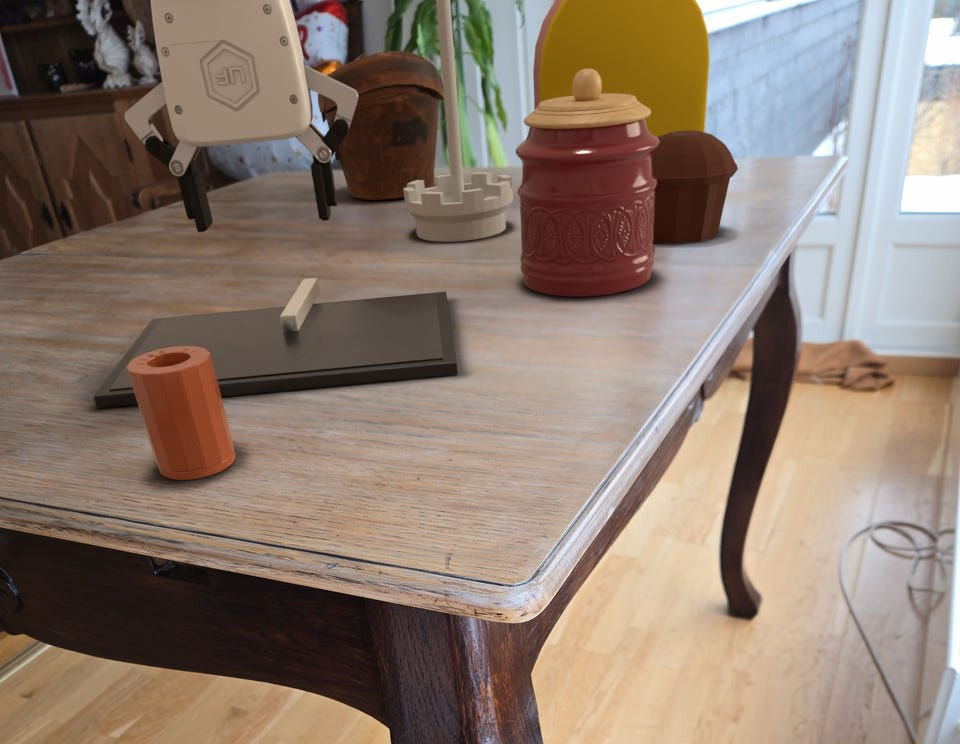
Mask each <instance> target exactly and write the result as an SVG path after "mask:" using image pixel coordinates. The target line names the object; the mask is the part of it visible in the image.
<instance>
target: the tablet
mask: <svg viewBox="0 0 960 744" xmlns="http://www.w3.org/2000/svg"><path fill="white" fill-rule="evenodd" d="M285 308H286V306H277V307H275V306H274V307H266V308H257V309H255V308H254V309H243V310H235V311H234V310H233V311H224V312H223V311H222V312H214V313H213V312H212V313H202V314H201V313H200V314H192V315H182V316H180V315H179V316H170V317H160V318H152V319H151V320H150V321H149V323H148V324H147V325H146V326H145V328H144V329H143V330H142V332H141V333H140V334H139V336H138V337H137V339H136V340H135V341H134V343H133V344H132V345H131V346H130V348H129V349H128V350H127V352H126V353H125V355H123V357H122V358H121V360H120V361H119V362H118V363H117V365H116V366H115V368H114V369H113V371H111V373H110V374H109V375H108V377H107V378H106V380H105V381H104V382H103V384H102V385H100V387H99V389H98V390H97V392H96V393H95V394H94V395H93V400H94V403H95V405H96V406H95V407H96V408H97V409H98V410H99V409H109V408H118V407H119V408H120V407H130V406H131V407H132V406H138V403H137V400H136V397H135V394H134V390H133V387H132V384H131V381H130V378H129V374H128V371H127V365H128V364H129V362H130V361H131V360H132V359H134V358H136V357H138V356H140V355H142V354H144V353H148V352H151V351H154V350H158V349H162V348H169V347H175V346H196V347H201V348H205V349H206V350H208V351H209V352H210V354H211V358H212V362H213V366H214V370H215V374H216V377H217V381H218V385H219V389H220V393H221V397H222V398H224V397H225V398H226V397H235V396H244V395H254V394H255V395H256V394H265V393H266V394H267V393H276V392H287V391H298V390H307V389H309V390H310V389H318V388H319V389H320V388H329V387H339V386H350V385H360V384H370V383H371V384H372V383H383V382H393V381H402V380H403V381H404V380H412V379H413V380H414V379H424V378H434V377H446V376H454V375H455V376H456V375H458V364H457V363H458V362H457V356H456V350H455V349H456V348H455V342H454V335H453V328H452V322H451V315H450V308H449V301H448V295H447V291H437V292H426V293H417V294H416V293H414V294H406V295H405V294H403V295H393V296H381V297H373V298H363V299H352V300H341V301H340V300H339V301H330V302H319V303H314V304H313V305H312V307H311V309H310V311H309V313H308V315H307V316H306V318H305V320H304V322H303V324H302V325H301V327H300V329H299V331H292V332H283V329H282V324H281V319H280V316H281V314H282V312H283V311H284V309H285Z"/></svg>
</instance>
